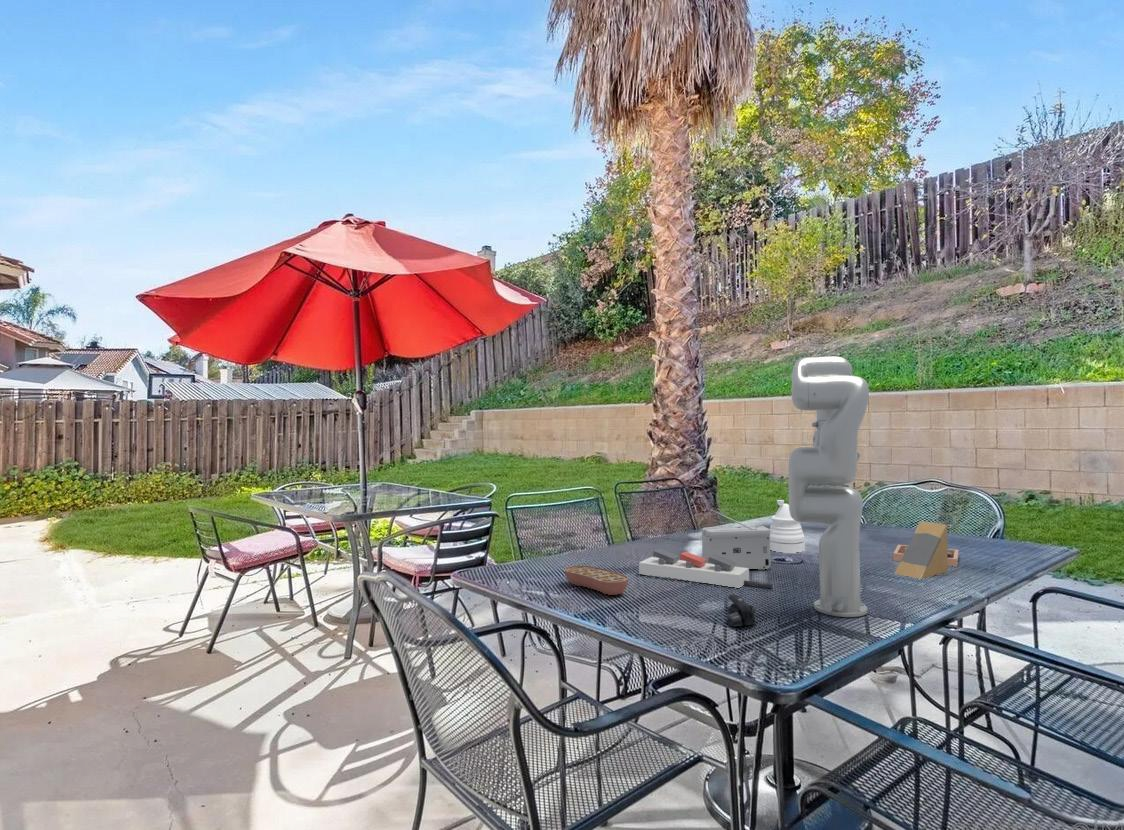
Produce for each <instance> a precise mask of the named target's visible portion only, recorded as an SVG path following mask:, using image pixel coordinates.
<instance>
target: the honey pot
mask: <svg viewBox="0 0 1124 830" xmlns="http://www.w3.org/2000/svg"><path fill="white" fill-rule="evenodd" d="M776 503H777V505H778V506H779V507H778V508H777V510H776V512H775V513H774V515H771V517H770V519H771V520H772V521H771V524H770V525H769V526H770V527H769V529H770V532H771V533H770V550H772V551H771V552H773V551H776V552H775V553H778V552H783V553H782V554H797V553H796V552H802V551H804V552H805V551H806V541H805V538H806V536H805V534H804V532H803V531H804V530H803V529H802V528H803V527H802V525H801V524H800V523H801V522H798V521H795V520H794V519H793V518H792V517H791V515H790V511H789V503H785V500H784V499H777V500H776ZM802 553H803V552H802Z"/></svg>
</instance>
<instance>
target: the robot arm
mask: <svg viewBox="0 0 1124 830" xmlns="http://www.w3.org/2000/svg"><path fill="white" fill-rule="evenodd" d="M869 395H870V389H869V383H868V382H867V380H866V379H865V378H863V377H860V376H856V375H853V367H852V364H851V363H850V362H849V360H847V359H846V358H844V357H842V356H837V355H836V356H835V355H829V356H827V355H826V356H809V357H808V356H807V357H801V358H799V359H798V360H796V361H795V364H794V366H793V369H792V371H791V402H792V404H793V406H794V407H795V408H796V409H797V410H800V411H816V420H815V422H811V427H812V428H815V429H816V430H814V433H813V439H812V446H809V447H808V446H803V447H797V448H795V449H793V450H792V451H791V452H790V455H789V459H788V467H787V468H788V469H787V470H788V473H787V474H788V477H787V478H788V480H787V481H788V505H789V511H790V515H791V517H792V518H793V519H794V520H795V521H798V522H799V523H805V524H806V523H807V524H808V523H809V524H811V523H812V524H825V525H829V526H828V527H827V528H826V529H825V530H824V531H823V533H822V534H821V535H820V536H819V537H820V538H819V541H818V557H819V559H818V560H819V562H818V563H819V565H818V566H819V599H816V600H815V601H814V602H813V608H814V609H815V611H817V612H819V613H821V614H825V615H827V616H832V617H841V618H858V617H863V616H865V615H867V614H868V612H869V611H868V607H867V606H866V605H865V604H864V603H862V602H861V558H860V556H861V555H860V551H861V550H860V549H861V548H860V544H861V543H860V537H861V536H860V532H861V522H862V513H863V507H864V504H863V496H862V494H861V493H860V492H859V491H858V490H857V489H856V488H853V487H850V486H846V485H850V484H852V483H853V482H854V480H855V479H856V477H857V470H858V461H859V459H860V457H861V454H860V453H859V452H858V435H859V430H860V427H861V424H862V421H863V419H864V416H865V414H866V412H867V408H868V404H869V397H870V396H869ZM844 485H845V486H844Z"/></svg>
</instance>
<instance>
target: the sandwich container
mask: <svg viewBox="0 0 1124 830" xmlns="http://www.w3.org/2000/svg"><path fill="white" fill-rule="evenodd" d="M947 549H948V525H947V524H945V523H944V524H942V523H936V522H930V521H923V520H920V521H919V522H918V524H917V527H916V529H915V531H914V534H913V535H912V538H911V540H910V542H909V543H908V548H907V550H906V552H905V554H904V553H903V554H904V556H903V558H902V560H901V561H899V564H898V565H897V568H896V570H895V571H894V573H895V574H899V575H904V576H909V577H913V578H918V579H922V578H926V577H931V576H934V575H938V574H941V575H943V574H942V573H944V574H946V573H945V572H947V573H948V566H947ZM938 576H939V575H938ZM934 577H935V576H934ZM931 578H932V577H931Z"/></svg>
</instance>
